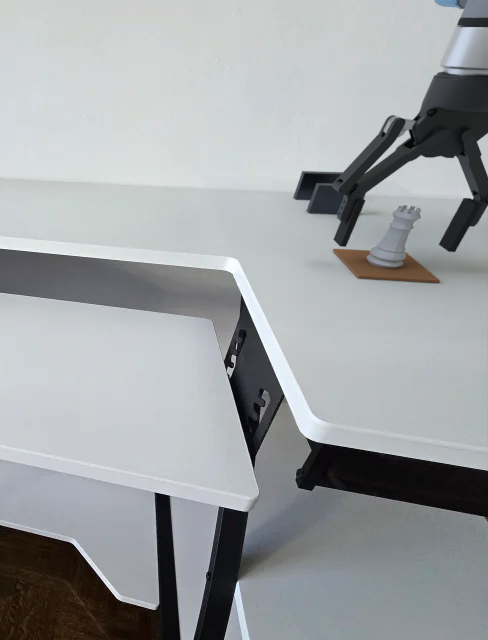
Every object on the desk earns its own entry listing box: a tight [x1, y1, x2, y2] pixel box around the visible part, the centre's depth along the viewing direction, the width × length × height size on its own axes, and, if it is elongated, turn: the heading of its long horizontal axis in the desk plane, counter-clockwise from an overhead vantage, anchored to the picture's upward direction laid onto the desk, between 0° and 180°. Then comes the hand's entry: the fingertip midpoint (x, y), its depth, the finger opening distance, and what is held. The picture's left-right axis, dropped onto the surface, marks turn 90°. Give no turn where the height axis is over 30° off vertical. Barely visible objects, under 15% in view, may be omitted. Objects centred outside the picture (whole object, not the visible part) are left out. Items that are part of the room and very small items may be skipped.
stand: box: [293, 170, 367, 215], centre depth 93 cm, size 8×10×5 cm
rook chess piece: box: [367, 204, 422, 269], centre depth 69 cm, size 4×4×8 cm
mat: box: [332, 248, 441, 284], centre depth 72 cm, size 10×10×1 cm
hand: (392, 246), depth 70 cm, fingers open, 13 cm apart
